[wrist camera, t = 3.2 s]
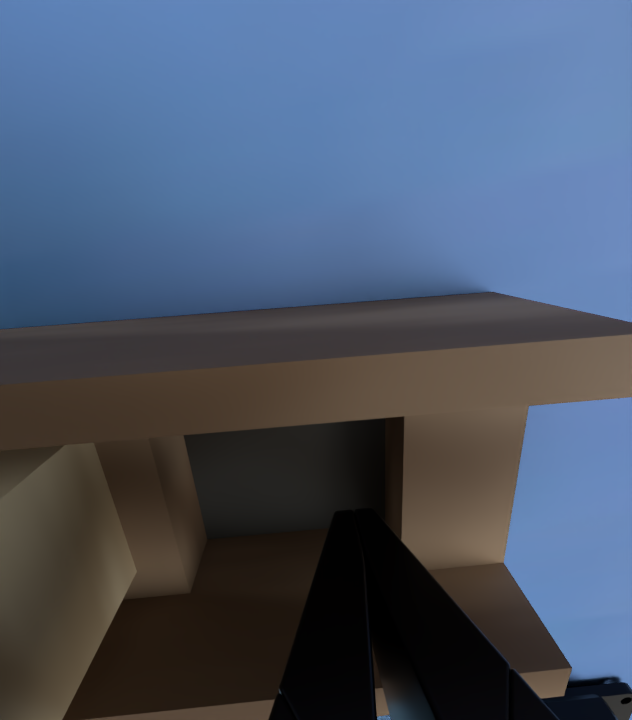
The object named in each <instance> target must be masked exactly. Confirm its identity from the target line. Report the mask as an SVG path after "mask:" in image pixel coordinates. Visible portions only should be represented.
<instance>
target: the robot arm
mask: <svg viewBox="0 0 632 720" xmlns="http://www.w3.org/2000/svg"><path fill="white" fill-rule="evenodd" d="M372 648H373V652H374V655H375V659H376V663H377V667H378V671H379V675H380V679H381V683H382V687H383V691H384V695H385V699H386V702H387V706H388V710H389V714H390V718H391V720H629V718H630V715H631V713H632V689H631V688H630V687H629V685H628V684H627V683H622V682H620V683H611V684H601V685H592V686H583V687H574V688H566V690H565V694H564V696H560V697H550V698H540V697H539V696H538V695H537V694H536V693H535V692H534V690H533V689H532V688H531V687H530V686H529V685H528V684H527V682H526V681H525V680H524V679H523V678H522V677H521V676H520V674H519V673H518V672H517V671H516V670H515V669H510V664H509V662H508V661H507V660H506V659H505V658H504V657H503V655H502V654H501V653H500V652H499V651H498V650H497V649H496V647H495V646H494V645H493V644H492V643H491V642H490V641H489V639H488V638H487V637H486V636H485V635H484V634H483V633H482V631H481V630H480V629H479V628H478V627H477V626H476V625H475V624H474V622H473V621H472V620H471V619H470V618H469V617H468V616H467V614H466V613H465V612H464V611H463V610H462V609H461V608H460V606H459V605H458V604H457V603H456V602H455V601H454V600H453V598H452V597H451V596H450V595H449V594H448V593H447V592H446V591H445V589H444V588H443V587H442V586H441V585H440V584H439V583H438V581H437V580H436V579H435V578H434V577H433V576H432V575H431V573H430V572H429V571H428V570H427V569H426V568H425V567H424V565H423V564H422V563H421V562H420V561H419V560H418V559H417V558H416V556H415V555H414V554H413V553H412V552H411V551H410V550H409V548H408V547H407V546H406V545H405V544H404V543H403V542H402V540H401V539H400V538H399V537H398V536H397V535H396V534H395V532H394V531H393V530H392V529H391V528H390V527H389V526H388V525H387V523H386V522H385V521H384V520H383V519H382V518H381V517H380V515H379V514H378V513H377V512H376V511H375V510H374V509H373V508H359V509H355V510H354V512H353V510H351V509H348V510H337V511H335V512H334V514H333V517H332V520H331V523H330V526H329V530H328V533H327V536H326V539H325V542H324V545H323V549H322V552H321V555H320V558H319V561H318V565H317V568H316V571H315V574H314V577H313V580H312V584H311V587H310V590H309V593H308V596H307V599H306V603H305V606H304V609H303V612H302V615H301V619H300V622H299V625H298V628H297V631H296V634H295V638H294V641H293V644H292V647H291V650H290V653H289V657H288V660H287V663H286V666H285V669H284V673H283V676H282V679H281V682H280V685H279V693H278V694H277V695H276V697H275V700H274V703H273V706H272V710H271V713H270V716H269V719H268V720H377V711H376V696H375V682H374V668H373V654H372Z"/></svg>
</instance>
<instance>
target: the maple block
mask: <svg viewBox="0 0 632 720" xmlns="http://www.w3.org/2000/svg"><path fill="white" fill-rule="evenodd" d="M136 572H137V570H136V567H135V564H134V561H133V558H132V555H131V552H130V550H129V547H128V544H127V541H126V538H125V535H124V532H123V529H122V526H121V523H120V520H119V517H118V514H117V511H116V508H115V505H114V502H113V499H112V496H111V493H110V490H109V487H108V484H107V481H106V478H105V475H104V472H103V469H102V466H101V463H100V460H99V457H98V454H97V451H96V448H95V445H94V443H85V444H73V445H61V446H50V447H38V448H26V449H14V450H3V451H0V720H62V719H63V717H64V715H65V713H66V711H67V709H68V707H69V705H70V703H71V701H72V699H73V698H74V696H75V694H76V692H77V690H78V688H79V686H80V684H81V682H82V680H83V678H84V676H85V674H86V672H87V670H88V668H89V666H90V664H91V662H92V660H93V658H94V656H95V654H96V652H97V650H98V648H99V646H100V644H101V642H102V640H103V638H104V636H105V634H106V632H107V630H108V628H109V626H110V624H111V622H112V620H113V618H114V616H115V614H116V612H117V610H118V608H119V606H120V604H121V602H122V600H123V598H124V596H125V594H126V592H127V590H128V588H129V586H130V584H131V582H132V580H133V578H134V576H135V574H136Z"/></svg>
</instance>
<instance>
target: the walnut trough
mask: <svg viewBox="0 0 632 720" xmlns="http://www.w3.org/2000/svg"><path fill="white" fill-rule="evenodd" d="M626 397H632V322H627V321H623V320H618V319H613V318H609V317H604V316H600V315H595V314H591V313H586V312H582V311H577V310H572V309H568V308H563V307H559V306H554V305H550V304H545V303H541V302H536V301H532V300H527V299H522V298H518V297H513V296H509V295H504V294H500V293H495V292H486V293H472V294H459V295H446V296H433V297H420V298H407V299H393V300H380V301H367V302H354V303H341V304H327V305H314V306H301V307H288V308H275V309H262V310H248V311H235V312H222V313H209V314H196V315H182V316H169V317H156V318H143V319H130V320H116V321H103V322H90V323H77V324H64V325H51V326H37V327H24V328H11V329H0V451H3V450H14V449H26V448H38V447H50V446H61V445H73V444H85V443H94V445H95V448H96V451H97V454H98V457H99V460H100V463H101V466H102V469H103V472H104V475H105V478H106V481H107V484H108V487H109V490H110V493H111V496H112V499H113V502H114V505H115V508H116V511H117V514H118V517H119V520H120V523H121V526H122V529H123V532H124V535H125V538H126V541H127V544H128V547H129V550H130V552H131V555H132V558H133V561H134V564H135V567H136V570H137V572H136V574H135V576H134V578H133V580H132V582H131V584H130V586H129V588H128V590H127V592H126V594H125V596H124V598H123V600H122V602H121V604H120V606H119V608H118V610H117V612H116V614H115V616H114V618H113V620H112V622H111V624H110V626H109V628H108V630H107V632H106V634H105V636H104V638H103V640H102V642H101V644H100V646H99V648H98V650H97V652H96V654H95V656H94V658H93V660H92V662H91V664H90V666H89V668H88V670H87V672H86V674H85V676H84V678H83V680H82V682H81V684H80V686H79V688H78V690H77V692H76V694H75V696H74V698H73V699H72V701H71V703H70V705H69V707H68V709H67V711H66V713H65V715H64V717H63V719H62V720H268V719H269V716H270V713H271V710H272V706H273V703H274V700H275V697H276V695H277V694H278V693H279V685H280V682H281V679H282V676H283V673H284V669H285V666H286V663H287V660H288V657H289V653H290V650H291V647H292V644H293V641H294V638H295V634H296V631H297V628H298V625H299V622H300V619H301V615H302V612H303V609H304V606H305V603H306V599H307V596H308V593H309V590H310V587H311V584H312V580H313V577H314V574H315V571H316V568H317V565H318V561H319V558H320V555H321V552H322V549H323V545H324V542H325V539H326V536H327V533H328V530H329V526H330V523H331V520H332V517H333V514H334V512H335V511H337V510H348V509H351V510H353V512H354V510H355V509H359V508H373V509H374V510H375V511H376V512H377V513H378V514H379V515H380V517H381V518H382V519H383V520H384V521H385V522H386V523H387V525H388V526H389V527H390V528H391V529H392V530H393V531H394V532H395V534H396V535H397V536H398V537H399V538H400V539H401V540H402V542H403V543H404V544H405V545H406V546H407V547H408V548H409V550H410V551H411V552H412V553H413V554H414V555H415V556H416V558H417V559H418V560H419V561H420V562H421V563H422V564H423V565H424V567H425V568H426V569H427V570H428V571H429V572H430V573H431V575H432V576H433V577H434V578H435V579H436V580H437V581H438V583H439V584H440V585H441V586H442V587H443V588H444V589H445V591H446V592H447V593H448V594H449V595H450V596H451V597H452V598H453V600H454V601H455V602H456V603H457V604H458V605H459V606H460V608H461V609H462V610H463V611H464V612H465V613H466V614H467V616H468V617H469V618H470V619H471V620H472V621H473V622H474V624H475V625H476V626H477V627H478V628H479V629H480V630H481V631H482V633H483V634H484V635H485V636H486V637H487V638H488V639H489V641H490V642H491V643H492V644H493V645H494V646H495V647H496V649H497V650H498V651H499V652H500V653H501V654H502V655H503V657H504V658H505V659H506V660H507V661H508V662H509V664H510V669H515V670H516V671H517V672H518V673H519V674H520V676H521V677H522V678H523V679H524V680H525V681H526V682H527V684H528V685H529V686H530V687H531V688H532V689H533V690H534V692H535V693H536V694H537V695H538V696H539V697H540V698H550V697H560V696H564V694H565V690H566V687H567V683H568V680H569V677H570V673H571V670H572V667H571V666H570V664H569V662H568V661H567V659H566V658H565V656H564V655H563V653H562V652H561V650H560V649H559V647H558V646H557V644H556V643H555V641H554V639H553V638H552V636H551V635H550V633H549V632H548V630H547V629H546V627H545V626H544V624H543V623H542V621H541V620H540V618H539V616H538V615H537V613H536V612H535V610H534V609H533V607H532V606H531V604H530V603H529V601H528V600H527V598H526V597H525V595H524V594H523V592H522V590H521V589H520V587H519V586H518V584H517V583H516V581H515V580H514V578H513V577H512V575H511V574H510V572H509V571H508V569H507V567H506V566H505V564H504V556H505V550H506V544H507V538H508V532H509V525H510V519H511V513H512V507H513V501H514V494H515V488H516V482H517V476H518V469H519V463H520V457H521V451H522V445H523V438H524V432H525V426H526V420H527V414H528V407H529V406H532V405H544V404H556V403H567V402H579V401H591V400H603V399H614V398H626ZM372 654H373V668H374V682H375V696H376V711H377V716H384V715H390V714H389V710H388V706H387V702H386V699H385V695H384V691H383V687H382V683H381V679H380V675H379V671H378V667H377V663H376V659H375V655H374V652H373V648H372Z"/></svg>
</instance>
